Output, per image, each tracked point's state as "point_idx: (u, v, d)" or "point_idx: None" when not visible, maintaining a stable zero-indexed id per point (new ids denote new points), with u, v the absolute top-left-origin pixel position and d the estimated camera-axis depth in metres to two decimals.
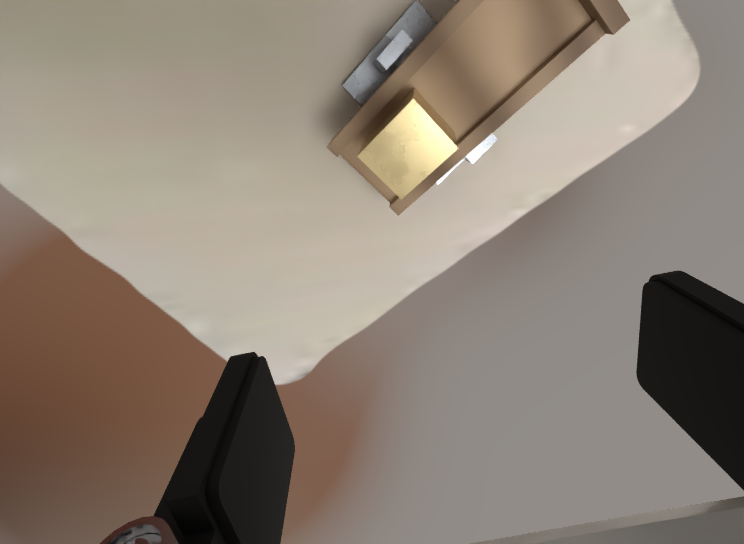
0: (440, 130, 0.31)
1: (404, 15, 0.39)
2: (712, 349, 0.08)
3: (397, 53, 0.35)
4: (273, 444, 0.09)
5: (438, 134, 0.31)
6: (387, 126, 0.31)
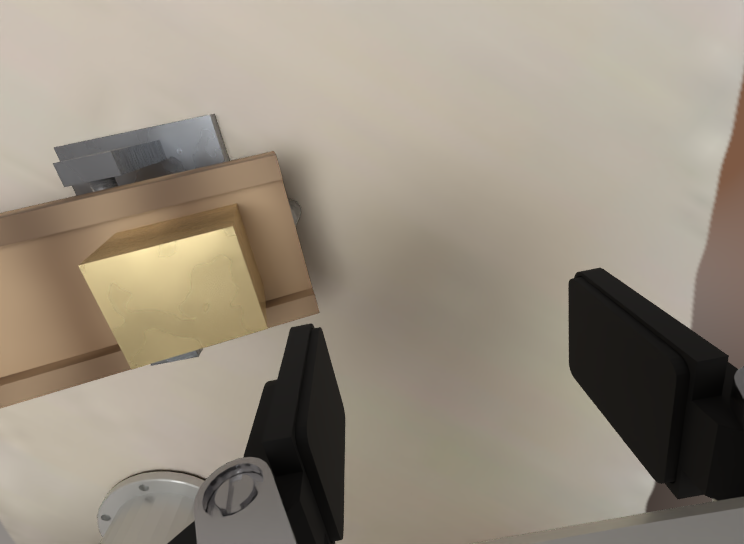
0: (103, 308, 0.17)
1: None
2: (616, 338, 0.09)
3: None
4: (332, 408, 0.10)
5: (109, 303, 0.17)
6: (194, 348, 0.19)
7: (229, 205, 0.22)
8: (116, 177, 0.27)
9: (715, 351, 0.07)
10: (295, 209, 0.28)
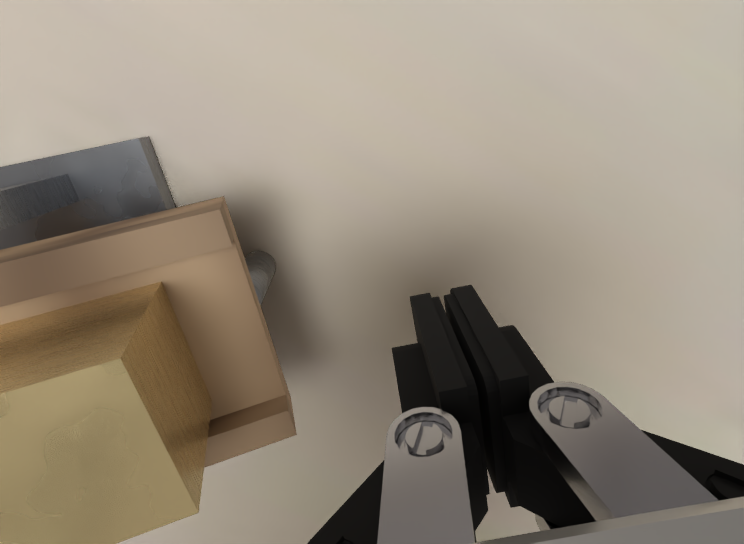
0: None
1: None
2: (465, 355, 0.09)
3: None
4: None
5: None
6: None
7: (149, 286, 0.14)
8: (8, 226, 0.19)
9: (520, 370, 0.07)
10: (265, 269, 0.20)
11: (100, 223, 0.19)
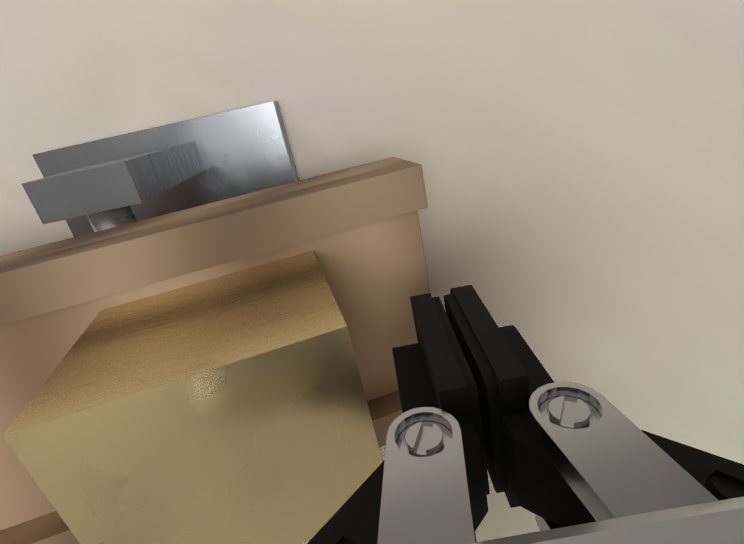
0: (65, 514, 0.08)
1: None
2: (465, 355, 0.09)
3: None
4: None
5: (79, 502, 0.08)
6: None
7: (301, 255, 0.12)
8: None
9: (520, 371, 0.07)
10: None
11: (224, 195, 0.18)
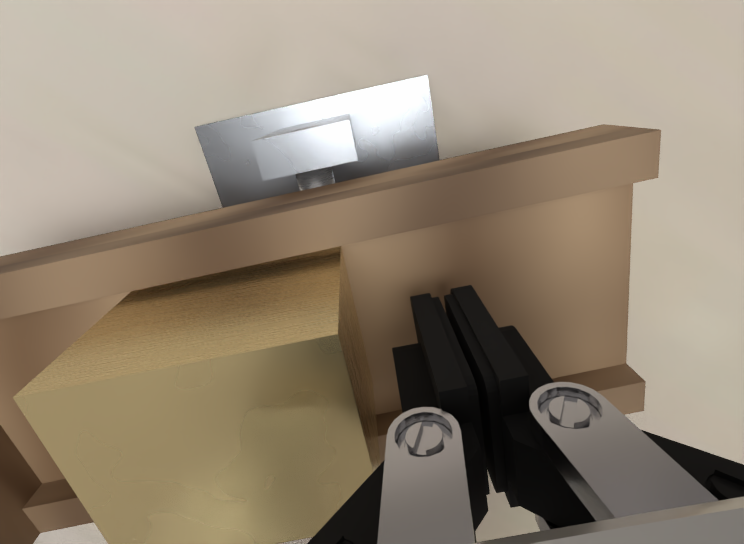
0: (68, 474, 0.08)
1: None
2: (465, 355, 0.09)
3: None
4: None
5: (79, 466, 0.08)
6: None
7: None
8: None
9: (520, 371, 0.07)
10: None
11: (370, 166, 0.19)
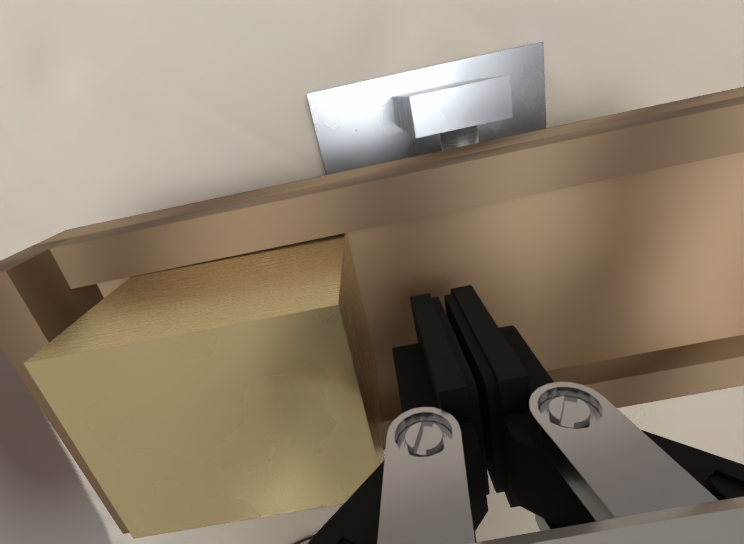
0: (76, 441, 0.09)
1: None
2: (465, 355, 0.09)
3: None
4: None
5: (88, 433, 0.09)
6: (245, 516, 0.10)
7: None
8: (386, 139, 0.18)
9: (519, 370, 0.07)
10: None
11: None
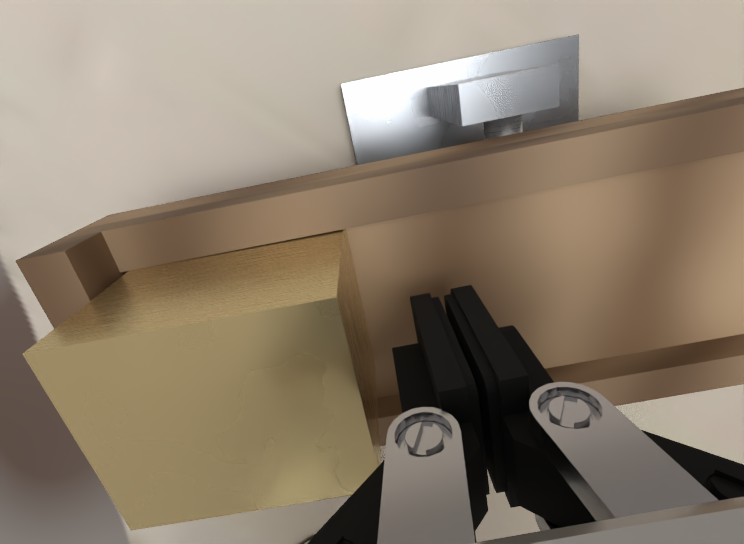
0: (75, 431, 0.09)
1: None
2: (465, 355, 0.09)
3: None
4: None
5: (86, 424, 0.09)
6: (242, 508, 0.10)
7: None
8: (419, 130, 0.18)
9: (520, 371, 0.07)
10: None
11: None
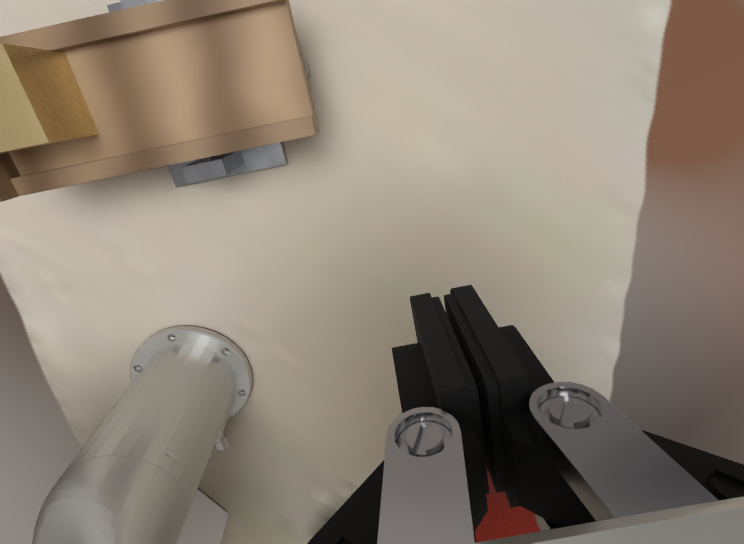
0: None
1: (193, 181, 0.37)
2: (465, 355, 0.09)
3: (202, 166, 0.31)
4: None
5: None
6: None
7: None
8: None
9: (520, 370, 0.07)
10: (305, 63, 0.33)
11: None
